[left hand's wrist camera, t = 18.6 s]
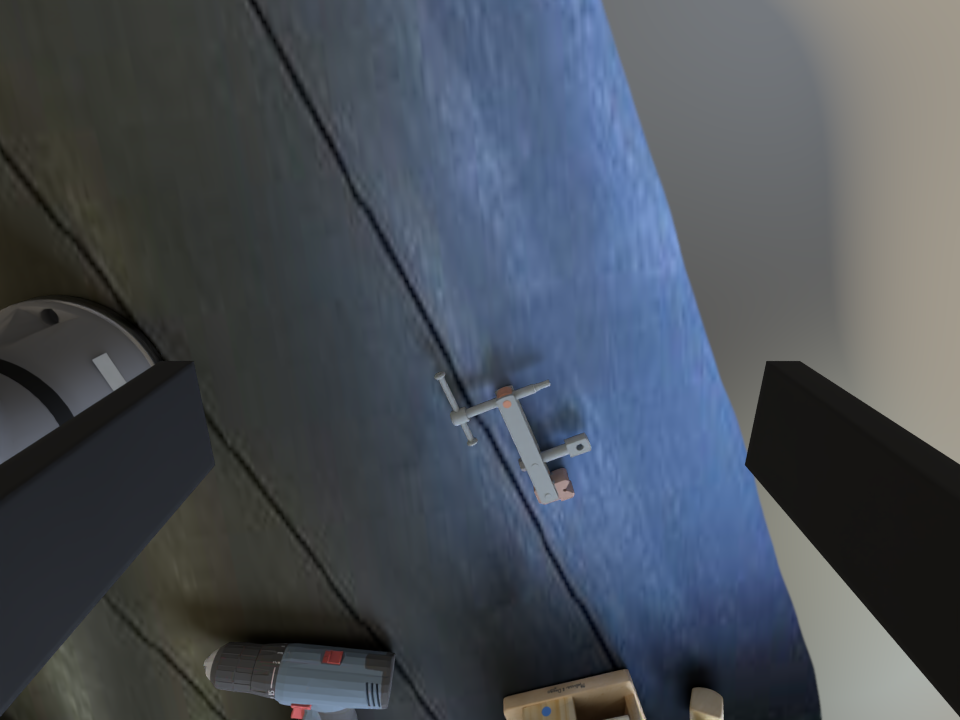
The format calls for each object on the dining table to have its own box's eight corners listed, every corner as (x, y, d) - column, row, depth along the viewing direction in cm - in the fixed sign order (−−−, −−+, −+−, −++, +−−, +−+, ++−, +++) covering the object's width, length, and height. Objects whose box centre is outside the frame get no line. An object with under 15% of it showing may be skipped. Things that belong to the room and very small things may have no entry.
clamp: (606, 486, 46) (500, 523, 48) (601, 472, 48) (499, 508, 50) (546, 335, 41) (429, 381, 43) (543, 326, 43) (432, 370, 45)
